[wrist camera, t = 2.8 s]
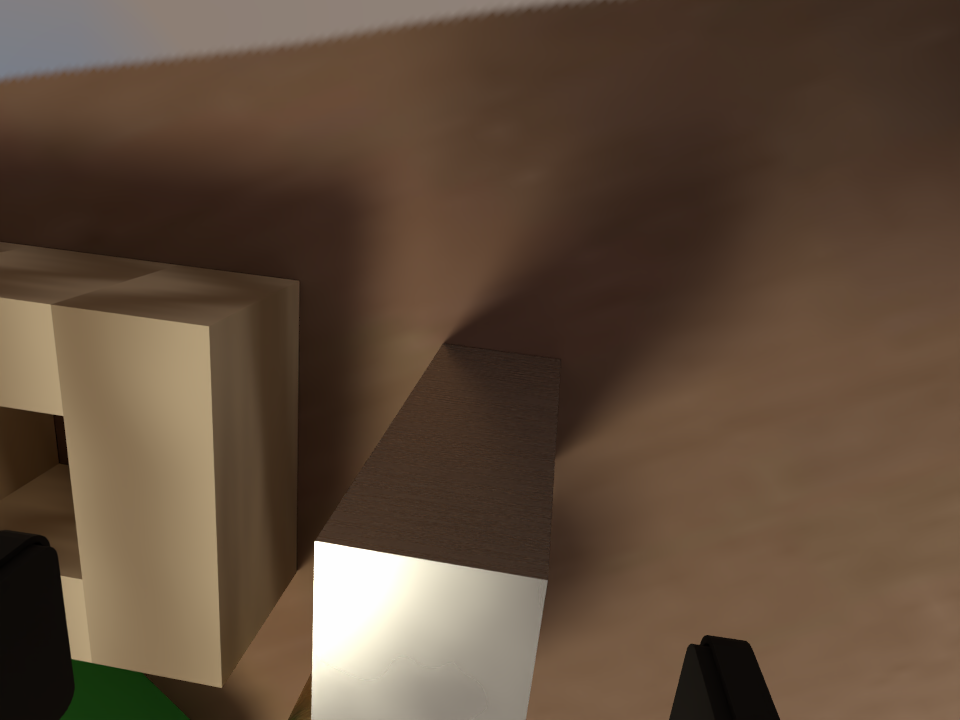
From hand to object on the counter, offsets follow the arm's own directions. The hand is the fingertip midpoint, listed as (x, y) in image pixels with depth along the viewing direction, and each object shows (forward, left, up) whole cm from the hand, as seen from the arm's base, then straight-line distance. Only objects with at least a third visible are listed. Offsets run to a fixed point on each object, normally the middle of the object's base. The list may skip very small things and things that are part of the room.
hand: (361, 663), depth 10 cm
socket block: (+11, +2, -10) cm, 15 cm away
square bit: (-1, 0, -10) cm, 10 cm away
